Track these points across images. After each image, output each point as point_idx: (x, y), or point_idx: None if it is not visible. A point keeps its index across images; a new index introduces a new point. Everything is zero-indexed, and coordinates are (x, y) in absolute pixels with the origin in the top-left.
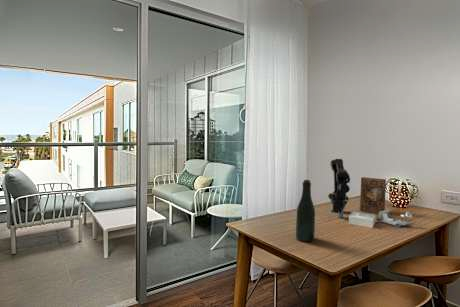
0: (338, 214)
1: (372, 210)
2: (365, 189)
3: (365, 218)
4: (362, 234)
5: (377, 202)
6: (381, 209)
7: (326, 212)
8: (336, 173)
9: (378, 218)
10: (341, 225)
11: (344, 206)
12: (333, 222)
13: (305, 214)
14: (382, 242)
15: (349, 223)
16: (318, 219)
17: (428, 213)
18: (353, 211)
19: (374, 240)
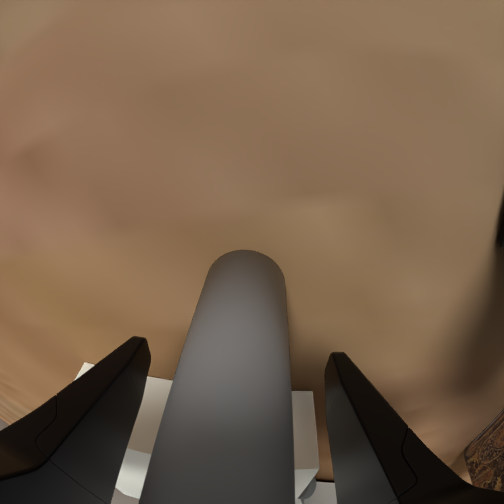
0: (210, 292)
1: (499, 430)
2: None
3: (116, 483)
4: (7, 390)
5: (499, 486)
6: (476, 465)
7: (463, 37)
8: None
9: (301, 495)
10: (5, 308)
11: (335, 485)
12: (7, 233)
13: None
14: (14, 421)
15: (86, 370)
16: (2, 47)
17: (467, 481)
18: (305, 472)
19: (4, 407)
